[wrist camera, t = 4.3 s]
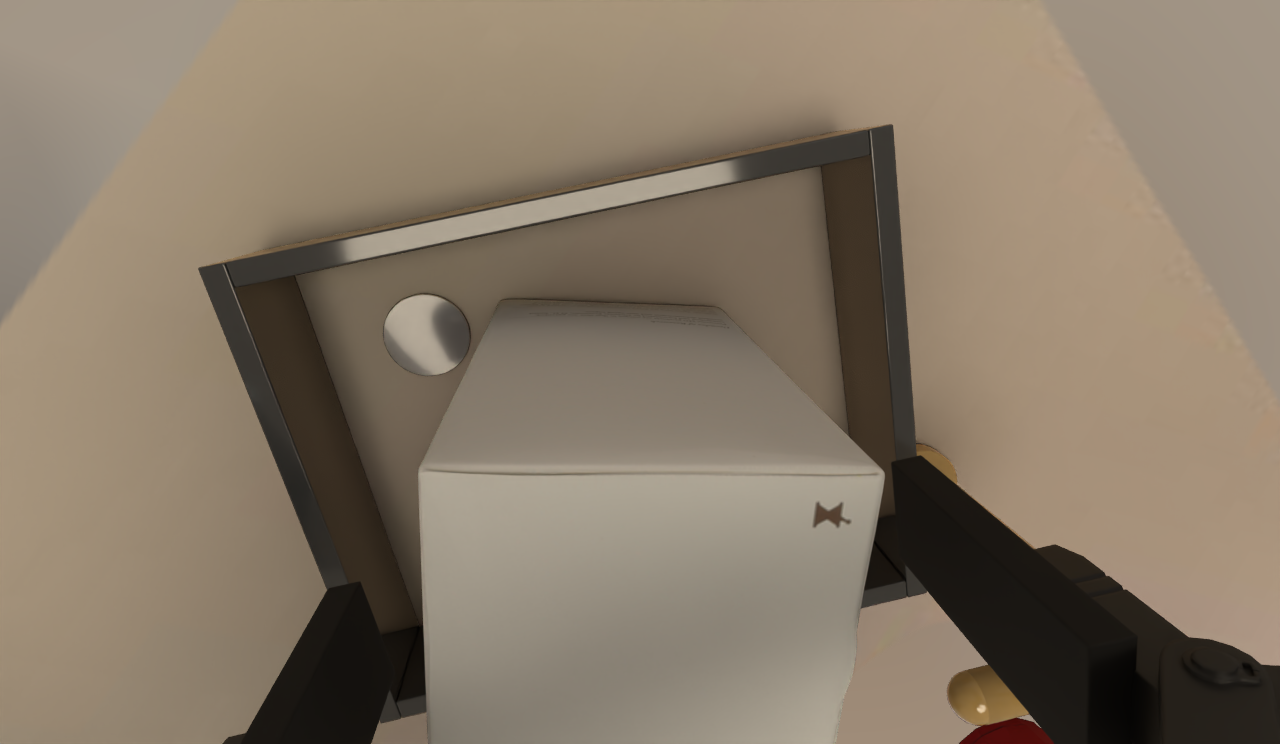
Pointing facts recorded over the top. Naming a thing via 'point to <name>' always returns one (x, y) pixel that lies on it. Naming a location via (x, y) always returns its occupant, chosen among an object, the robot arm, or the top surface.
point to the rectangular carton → (638, 537)
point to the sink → (439, 339)
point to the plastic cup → (1008, 733)
